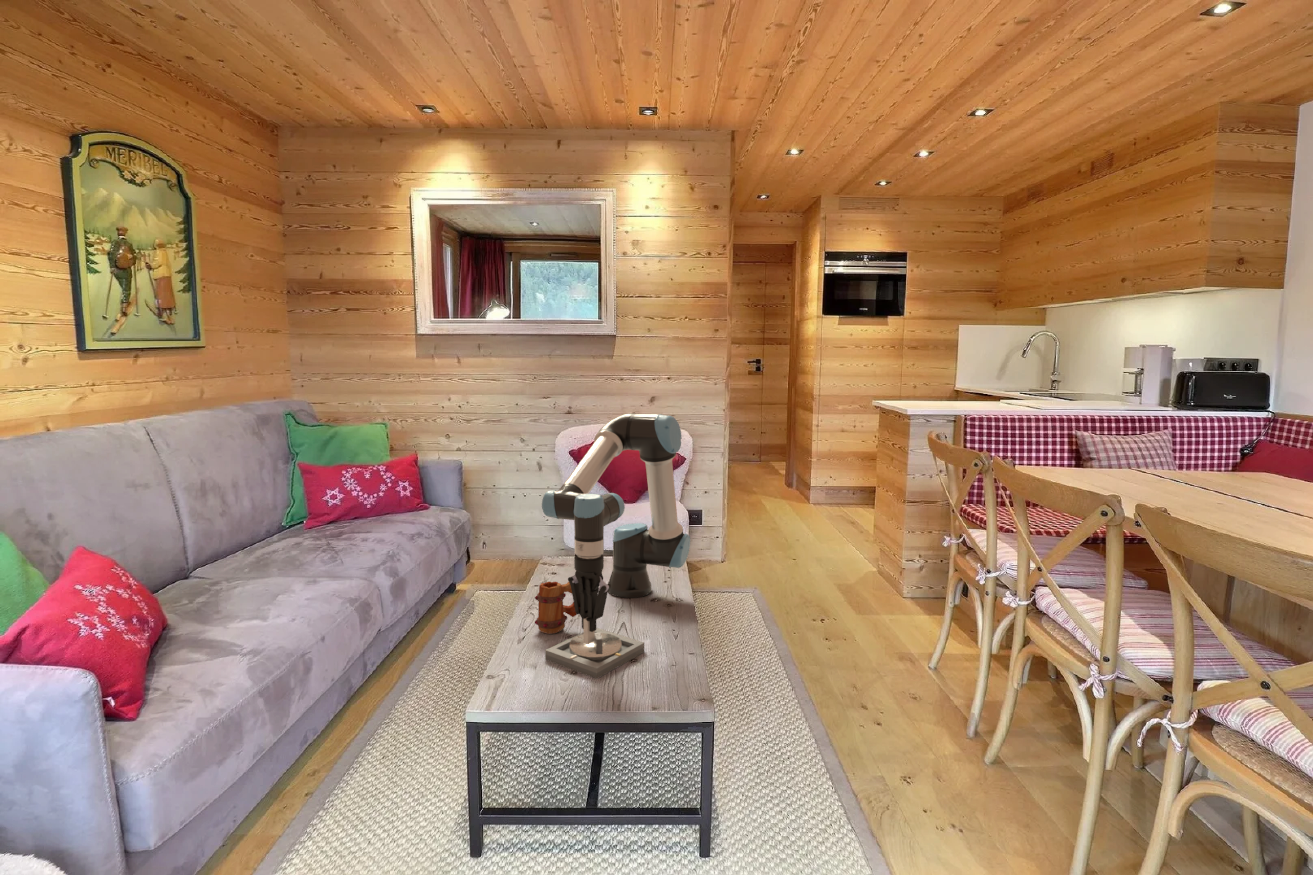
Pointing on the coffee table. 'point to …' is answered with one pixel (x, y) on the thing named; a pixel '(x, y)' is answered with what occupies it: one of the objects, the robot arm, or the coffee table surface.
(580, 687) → the coffee table surface
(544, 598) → the mug
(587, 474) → the robot arm
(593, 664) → the board
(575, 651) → the dial
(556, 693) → the coffee table surface
